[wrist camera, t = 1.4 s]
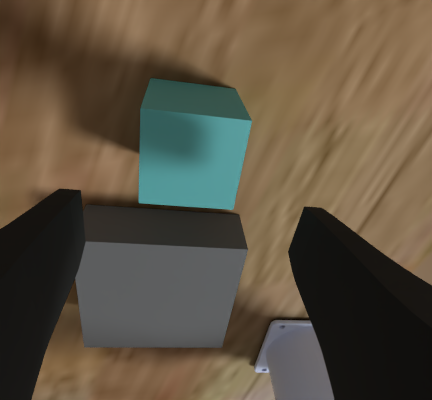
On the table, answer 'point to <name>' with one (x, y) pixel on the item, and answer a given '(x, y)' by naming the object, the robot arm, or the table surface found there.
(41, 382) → the table surface
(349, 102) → the table surface
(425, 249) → the table surface
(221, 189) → the teal block
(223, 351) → the table surface
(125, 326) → the block
